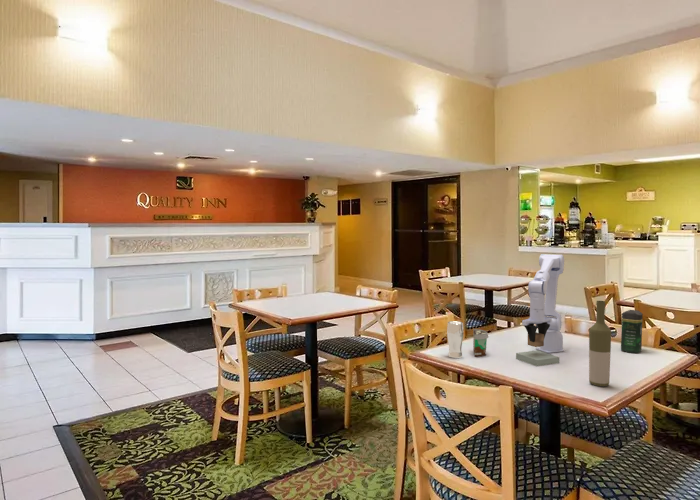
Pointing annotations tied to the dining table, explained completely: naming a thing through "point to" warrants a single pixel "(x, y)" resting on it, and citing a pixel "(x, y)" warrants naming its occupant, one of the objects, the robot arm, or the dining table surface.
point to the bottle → (599, 349)
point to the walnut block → (537, 340)
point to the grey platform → (537, 358)
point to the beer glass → (455, 338)
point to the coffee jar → (631, 331)
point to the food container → (479, 342)
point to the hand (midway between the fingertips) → (536, 340)
